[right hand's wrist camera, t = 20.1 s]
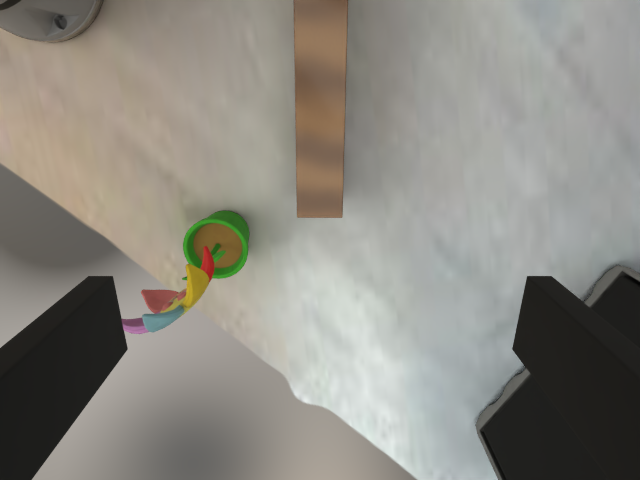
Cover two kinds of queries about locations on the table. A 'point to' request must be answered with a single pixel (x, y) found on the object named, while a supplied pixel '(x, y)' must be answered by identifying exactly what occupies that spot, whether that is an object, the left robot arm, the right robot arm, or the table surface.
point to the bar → (320, 105)
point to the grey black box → (541, 415)
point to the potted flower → (197, 269)
